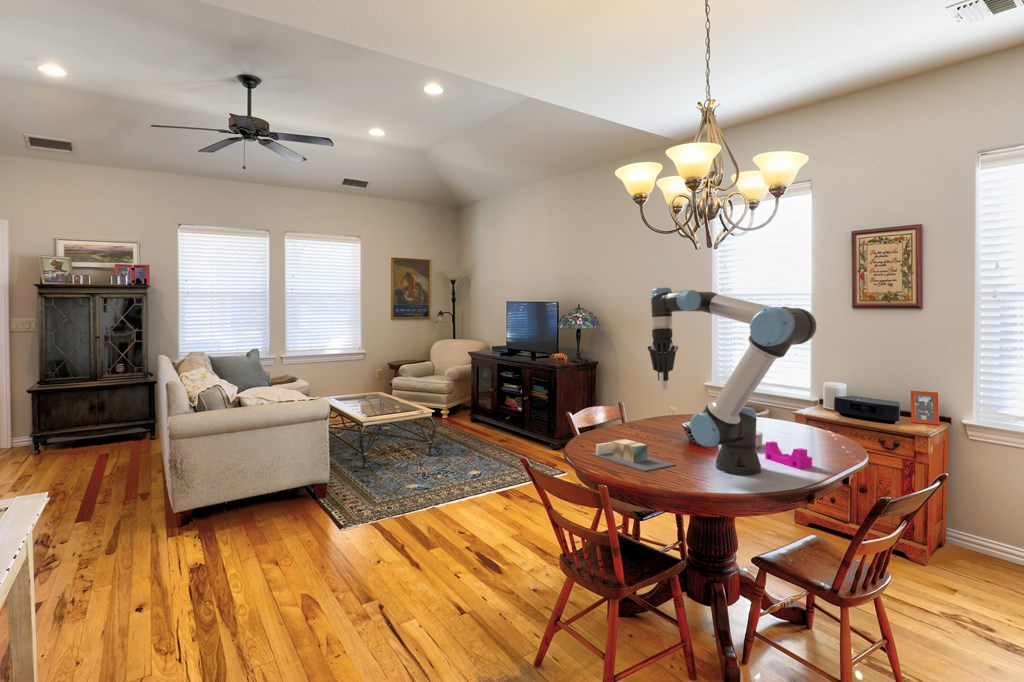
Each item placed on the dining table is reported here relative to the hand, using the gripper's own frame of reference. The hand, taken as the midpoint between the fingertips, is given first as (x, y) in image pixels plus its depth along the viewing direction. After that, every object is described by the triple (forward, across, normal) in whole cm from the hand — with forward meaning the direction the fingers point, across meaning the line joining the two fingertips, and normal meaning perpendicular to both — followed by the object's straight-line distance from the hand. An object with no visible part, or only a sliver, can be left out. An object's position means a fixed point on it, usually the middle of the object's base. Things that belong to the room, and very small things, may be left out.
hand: (663, 389), depth 204 cm
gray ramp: (+27, +8, +10) cm, 30 cm away
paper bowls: (+28, -7, -41) cm, 50 cm away
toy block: (+29, -30, -32) cm, 53 cm away
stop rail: (+26, +20, +9) cm, 34 cm away
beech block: (+24, +3, +10) cm, 26 cm away
